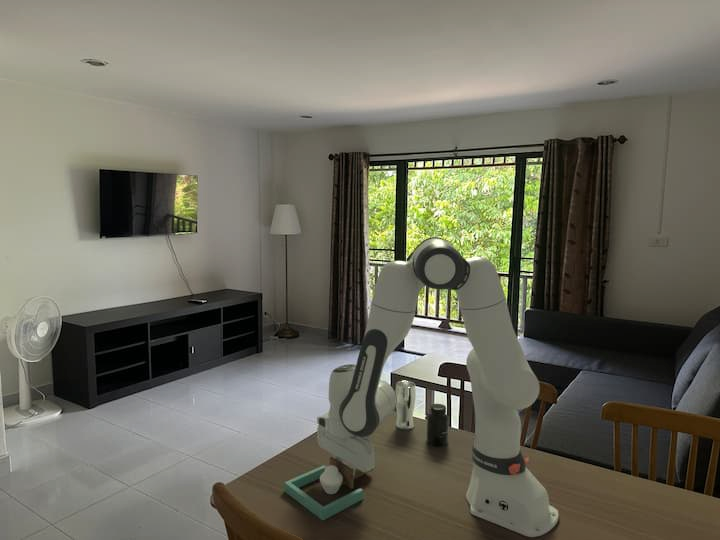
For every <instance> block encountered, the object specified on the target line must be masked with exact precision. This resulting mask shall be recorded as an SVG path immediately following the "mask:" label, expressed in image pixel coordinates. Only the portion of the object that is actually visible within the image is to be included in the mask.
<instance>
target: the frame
mask: <svg viewBox="0 0 720 540" xmlns="http://www.w3.org/2000/svg"><path fill="white" fill-rule="evenodd" d="M326 467H327V466H326V465H324V464H323V465H321V466H319V467H317V468H315V469H312V470H310V471H307V472H306V473H303V474H301V475H298V476H296V477H293V478H291V479H290V480H287V481H284V482H283V484H284V485H283V486H284V489H283V490H284V492H285V493H286V494H287V495H288V496H289V497H291V498H293V500H294V501H295V500H296V501H297V502H298V503H299V504H300V505H301V506H303V507H305V508H306V510H308V511H309V512H311V513H312V514H313V515H314V516H316V517H317V518H318V519H320V520H321V521H325V520H327V519H328V518H330V517H332V516H334V515H336V514H338V513H340V512H342V511H344V510H345V509H347V508H349V507H351V506H353V505H355V504H357V503H359V502H360V501H362V500H364V489H362V488H361V487H360V488H357V489H356V490H354V491H352V492H349V493H348V494H347V493H346V495H344V496H342V497H340V498H338V499H335V500H334V501H332V502H330V503H328V504H326V505H324V506H323V505H322V504H321V503H319V502H318V500H317V501H316V500H315V499H314V498H313V497H311V496H310V495H308V494H307V493H306V492H305V491H303V490H301V489H300V488H302V487H304V486H306V485H308V484H310V483H313V482H315V481H317V480H320V476H321V474H322V473H323V472H324V471H325V468H326Z"/></svg>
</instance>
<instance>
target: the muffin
mask: <svg viewBox="0 0 720 540" xmlns="http://www.w3.org/2000/svg"><path fill="white" fill-rule="evenodd" d="M342 481H343V476H342V474H341V473H340V472H339V471H338V468H337V467H336V466H332V465H331V466H330V465H327V466H326V468H325V471H324V472H323V473H322V474H321V476H320V478H319V482H320V485H321V487H322V489H323V490H324V492H325V493H326V494H329V495H334V494H336V493H337V492H338V491H339V490H340V488H341V485H342V484H343V483H342Z"/></svg>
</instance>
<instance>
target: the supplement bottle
mask: <svg viewBox="0 0 720 540" xmlns="http://www.w3.org/2000/svg"><path fill="white" fill-rule="evenodd" d="M429 410H430V412H429V413H428V414H427V418H426V442H427V444H429V445H431V446H432V447H433V446H434V447H444V446H446V445H448V443H449V425H450V424H449V420H450V418H449V415H448V414H447V407H446V405H445V404H441V403H433V404H430V409H429Z"/></svg>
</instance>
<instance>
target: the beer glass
mask: <svg viewBox="0 0 720 540" xmlns="http://www.w3.org/2000/svg"><path fill="white" fill-rule="evenodd" d="M416 390H417V389H416V383H415V382H413V381H410V380H400V381H399V380H398V381H397V382H396V383H395V390H394V391H395V393H396V396H397V404H396V407H395V409H396V414H397V415H396V417H397V418H396V424H395V426H396V427H397V428H398V429H401V430H406V431H407V430H412V429H413V428H414V426H415V423H414V417H413V416H414V410H415V405H416V397H417V396H416V395H417V394H416V393H417V392H416Z"/></svg>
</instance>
